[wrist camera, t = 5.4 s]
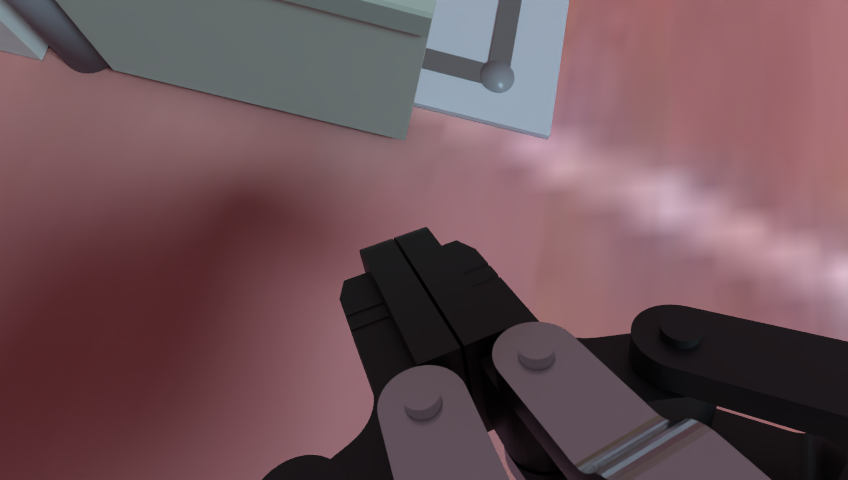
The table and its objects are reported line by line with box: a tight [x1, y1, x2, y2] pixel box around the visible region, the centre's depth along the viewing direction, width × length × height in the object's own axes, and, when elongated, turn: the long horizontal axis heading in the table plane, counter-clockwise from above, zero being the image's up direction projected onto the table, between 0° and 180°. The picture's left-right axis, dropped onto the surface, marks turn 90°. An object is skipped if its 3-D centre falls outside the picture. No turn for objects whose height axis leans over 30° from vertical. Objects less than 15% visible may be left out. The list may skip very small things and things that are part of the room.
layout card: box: [413, 0, 569, 139], centre depth 21 cm, size 10×10×1 cm
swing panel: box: [56, 0, 436, 141], centre depth 15 cm, size 11×2×7 cm, turn 79°
